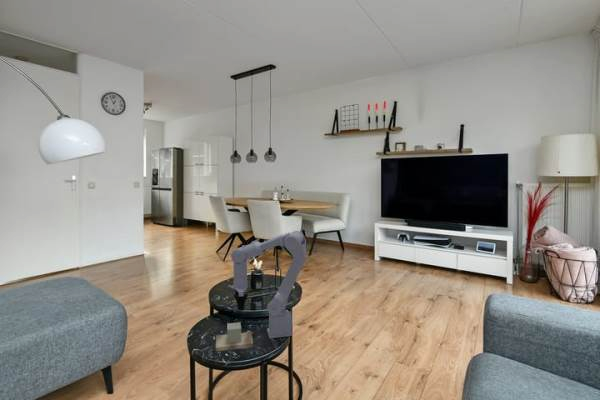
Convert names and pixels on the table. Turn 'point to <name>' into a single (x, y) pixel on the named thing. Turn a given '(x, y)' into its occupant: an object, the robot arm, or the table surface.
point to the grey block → (233, 332)
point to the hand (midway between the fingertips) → (240, 306)
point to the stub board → (245, 343)
